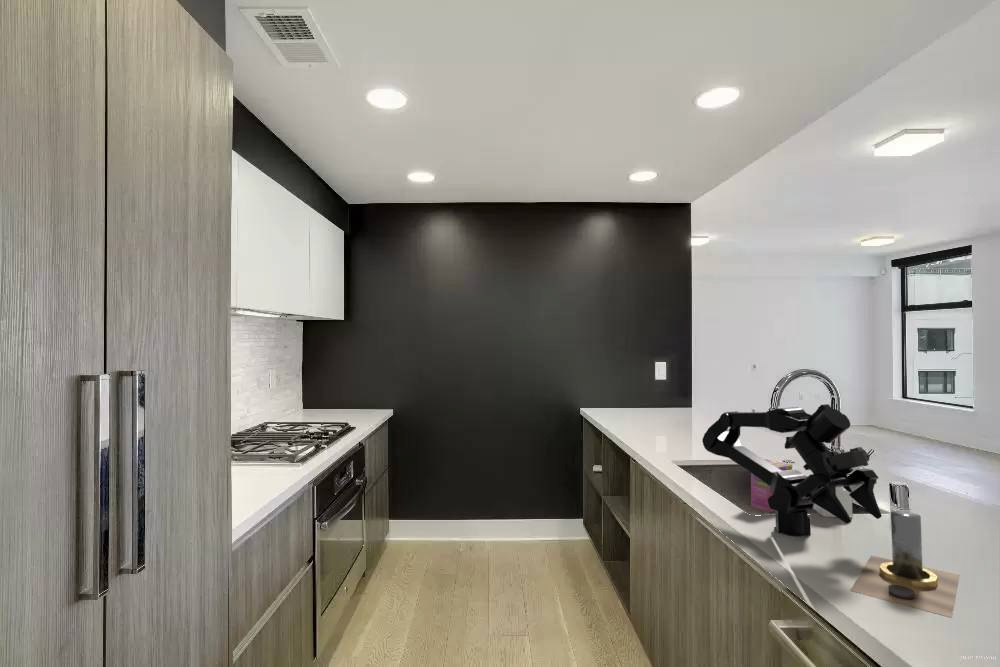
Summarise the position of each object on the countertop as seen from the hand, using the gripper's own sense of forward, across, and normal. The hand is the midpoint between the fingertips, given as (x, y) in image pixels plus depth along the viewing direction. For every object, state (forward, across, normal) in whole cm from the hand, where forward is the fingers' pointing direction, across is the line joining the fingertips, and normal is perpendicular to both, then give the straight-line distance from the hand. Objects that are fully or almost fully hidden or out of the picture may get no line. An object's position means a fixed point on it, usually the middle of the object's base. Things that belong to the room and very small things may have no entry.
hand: (864, 520), depth 108 cm
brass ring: (+12, 0, 0) cm, 12 cm away
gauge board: (+13, -3, 0) cm, 13 cm away
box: (-18, +15, +32) cm, 39 cm away
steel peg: (+12, 0, 0) cm, 12 cm away
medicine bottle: (-11, +24, +24) cm, 36 cm away
